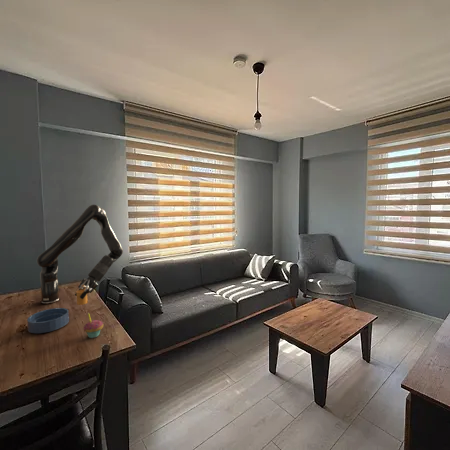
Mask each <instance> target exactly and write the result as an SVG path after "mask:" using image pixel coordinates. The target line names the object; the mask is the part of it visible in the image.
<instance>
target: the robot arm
mask: <svg viewBox="0 0 450 450" xmlns="http://www.w3.org/2000/svg"><path fill="white" fill-rule="evenodd" d="M92 220H93V221H96V223H97V224H98V225H99V226H100V232H101V233H100V234H101V236H102V238H103V240H104V242H105V243H106V245H107V248H108V249H109V251H110V252H109V253H108V254H107V255H106V254H105V255H104V256H102V258H101V259H100V260H99V261H98V262H97V263H96V264H95V265H94V267H93V268H92V269H91V270H90V271H89V273H88V274H87V275H88V277H87V278H83V279H82V280H81V282H80V283H79V285H78V287H77V288H78V290H81V289H85V291H84V292H83V293H82V294H81V296H80V298H81V299H83V298H84V297H85V296H86V295H87V296H88V294H91V293H92V292H93V291H94V290H95V289H96V288H97V287H98V286H99V284H98V283H97V282H101V280H102V279H103V278H104V276H105V275H106V274H107V273H108V271H109V270H110V268H111V267H112V265H113V264H114V263H115V262H116V261H117V260H118V259H120V258H121V256H122V255H123V253H124V249H123V247H122V245H121V242H120V241H119V240H118V238H117V236H116V233H114V230H113V229H112V227H111V224H110V222H109V220H108V216H107V213H106V211H105V209H104V208H103V207H101V206H99V205H97V204H91V205H89V206H87V208H86V209H84V211H83V212H82V214H81V215H79V217H78V218H77V219H76V220H75V221H74V222H73V223H72V224H71V225H70V226H69V227H68V228H67V229H66V230H65V231H64V232H63V233H61V235H59V237H58V238H57V239H56V240H55V241H54V242H53V243H52V244H51V245H50V246H49V247H48V248H47V249H45V250H44V251H43V252H42V253H40V254H39V255H38V256H37V258H36V263H37V265H38V266H39V267H41V271H40V272H39V281H40V295H41V304H42V305H49V304H54V303H56V302H59V301H60V297H59V293H60V292H59V291H60V288H59V285H61V282H59V279H58V271H59V256H60V255H62V253H63V252H65V251H66V250H67V249H69V248H70V247H72V246H73V245H74V244H75V243H76V242H77V241H78V240H79V239H81V238H82V236H83V234H84V231H85V227H86V226H87V224H88V223H89V222H90V221H92ZM74 296H75V297H77V291H75V294H74Z"/></svg>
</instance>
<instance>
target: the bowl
mask: <svg viewBox="0 0 450 450" xmlns="http://www.w3.org/2000/svg"><path fill="white" fill-rule="evenodd" d="M69 312H70V310H69V309H68V308H66V307H65V308H64V307H54V308H48V309H44V310H41V311H37V312H35V313H33V314H31V315H30V316H28V317H27V319H26V323H27V331H28V332H29V333H30V334H44V333H45V334H46V333H49V332H53V331H56V330H59V329H61V328H63V327H65V326H66V325H68V324H69V322H70V313H69Z"/></svg>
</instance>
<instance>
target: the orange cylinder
mask: <svg viewBox="0 0 450 450" xmlns="http://www.w3.org/2000/svg"><path fill="white" fill-rule="evenodd" d="M85 289H86V288H85ZM85 289H81V290H79V289H78V290H76V292H77V296H76V306H77V305H78V306H83V305H86V304H88V294H87V295H86V296H85V297H84V298H83V299H81V298H80V296H81V294H82V293H83V292H84V291H85Z"/></svg>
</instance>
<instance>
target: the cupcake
mask: <svg viewBox="0 0 450 450" xmlns="http://www.w3.org/2000/svg"><path fill="white" fill-rule="evenodd" d="M87 315H88V322H86V323H85V324H84V326H83V328H82V329H83V332H85V333H86V335H87V337H88V338H89V339H93V338H97V337H98V336H99V335H100V334H101V330H102V329H103V328H104V322H103V321H102V320H99V319H92V318H91V314H90V313H89V312H87Z"/></svg>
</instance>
